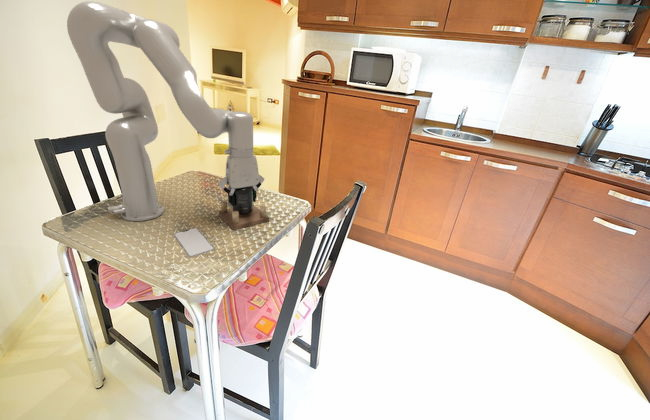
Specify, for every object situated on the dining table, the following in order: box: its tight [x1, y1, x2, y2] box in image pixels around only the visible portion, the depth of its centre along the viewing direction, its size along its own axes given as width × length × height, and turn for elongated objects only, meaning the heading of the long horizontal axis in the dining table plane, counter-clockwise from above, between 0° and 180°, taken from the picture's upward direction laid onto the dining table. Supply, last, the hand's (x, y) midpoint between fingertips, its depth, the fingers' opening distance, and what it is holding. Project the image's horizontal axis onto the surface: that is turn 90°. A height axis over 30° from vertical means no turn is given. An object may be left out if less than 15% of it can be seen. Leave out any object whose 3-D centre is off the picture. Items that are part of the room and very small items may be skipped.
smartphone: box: [173, 227, 215, 258], centre depth 88 cm, size 7×1×15 cm
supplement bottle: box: [233, 186, 254, 215], centre depth 100 cm, size 7×7×12 cm
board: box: [218, 199, 270, 231], centre depth 103 cm, size 13×13×6 cm
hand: (242, 202), depth 101 cm, fingers closed on supplement bottle, 6 cm apart
